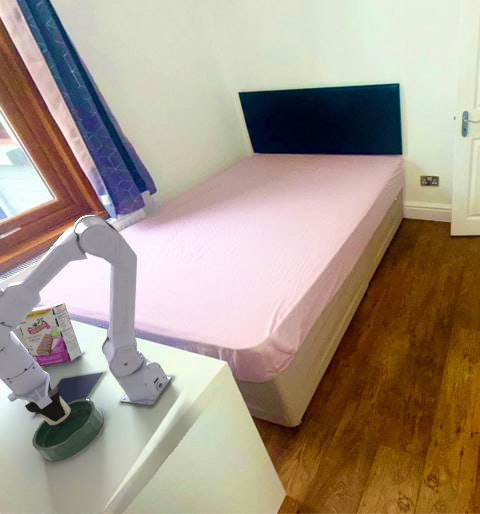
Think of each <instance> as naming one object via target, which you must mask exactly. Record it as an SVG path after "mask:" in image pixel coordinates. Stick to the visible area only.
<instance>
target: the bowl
mask: <svg viewBox="0 0 480 514" xmlns="http://www.w3.org/2000/svg"><path fill="white" fill-rule="evenodd" d="M67 405H68V406H69V407H70V409H71V411H70V414H69V415H68V416H67V417H66V418H65V419H64V420H63V421H62V422H60V423H58V424H55V425H49V424H48V423H47V422H46V421H45V420H44V419H43V421H42V422H41V423H40V424H39V426H38V427H37V429H36V430H35V432H34V434H33V437H32V439H31V441H32V443H31V444H32V447H33V448H34V449H35V450H36V451H37V452H38V453H39V454H40V455H41V456H42V457H43V458H44V459H45V460H47V461H49V462H59V461H64V460H65V459H68V458H70V457H73V456H75V455H76V454H77V453H79V452H80V451H82V450H84V449H85V448H86V447H87V446H88V445H89V444H90V443H91V442H93V440H94V439H95V438H96V437H97V435H99V432H100V431H101V429H102V427H103V424H104V423H103V422H104V415H103V413H102V412H101V410H100V409H99V408H98V406H97V405H96V404H95V402H94V401H92V400H91V399H88V398H86V399H79V400H75V401H72V402H70V403H67Z"/></svg>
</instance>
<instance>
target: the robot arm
mask: <svg viewBox="0 0 480 514" xmlns="http://www.w3.org/2000/svg"><path fill="white" fill-rule="evenodd" d="M86 254H88V255H90V256H92V257H96V258H100V259H103V260H104V261H106V262H107V263H109V264H110V272H109V273H110V276H109V277H110V279H109V280H110V281H109V284H110V285H109V286H110V287H109V317H108V321H109V322H108V328H107V330H106V337H105V339H104V341H103V342H102V345H101V352H102V354H103V355H104V357H105V360H106V363H107V364H108V369H109V371H110V373H111V375H112V376H113V377H114V379H115V381H116V382H117V383H118V384H119V386H120V387H121V389H122V390H123V392H124V395H123V396H122V397H121V399H120V402H121V403H130V404H140V405H153V404H154V403H155V401H156V400H157V399H158V398H159V396H160V395H161V393H162V392H163V390H164V389H165V388H166V386H167V385H168V384H169V382H170V381H171V380H172V377H171V376H167V374H166V373H165V371H164V369H163V367H162V366H161V364H160V363H158V362H157V361H152V360H149V358H146V357H145V356H144V354H143V352H141V351H138V343H137V338H136V334H135V333H136V332H135V322H136V321H135V319H136V295H137V270H138V256H137V253H136V252H135V251H134V250H133V248H132V246H131V245H129V243H128V241H126V239H125V237H123V235H122V234H121V233H120V232H119V230H118V229H116V227H114V225H113V224H112V223H110V222H108V221H107V220H105V219H104V218H102V217H101V216H99V215H95V214H94V215H93V214H92V215H91V214H89V215H84V216H82V217H80V218H79V219H77V221H76V222H75V223H74V226H71V227H69V228H67V229H66V230H65V231H64V232H63V234H62V235H61V236H60V237H59V238H58V239H57V240H56V242H55V243H54V244H53V246H51V247H50V248H49V250H48V251H46V253H45V254H44V255H43V257H42V258H41V259H40V260H39V261H38V263H37V264H36V265H35V266H34V267H33V268H32V270H31V271H30V272H28V275H27V276H26V277H25V278H24V279H23V281H20V282H14V283H10V284H8V285H7V286H6V287H5V288H2V287H0V380H1V381H2V382H3V383H4V385H6V386H7V387H8V388H9V390H11V393H9V394H8V395H7V399H8V400H9V401H10V402H15V401H16V400H22V401H27V402H28V403H27V404H25V405H24V407H25V409H26V410H27V411H28V412H29V413H32V414H35V413H38V414H37V415H40V414H41V415H44V416H45V417H47V418H49V419H50V420H52V421H54V422H57V421H58V420H59V419H61V418H62V417H63V416H65V415H66V414H65V411H64V409H63V407H62V405H61V402H60V392H59V389H58V388H57V387H56V386H55V387H54V388H52V387H51V381H50V380H51V375H50V374H49V373H48V372H46V371H45V370H44V369H43V367H40V365H39V364H38V363H37V362H36V361H35V360H34V358H33V357H32V356H31V355H30V354H29V352H28V351H27V349H26V348H25V347H24V345H23V344H22V343H21V342H20V340H18V338H17V337H15V335H14V334H13V330H14V329H16V328H17V327H18V326H19V324H20V323H21V322H22V321H23V320H24V319H25V318H26V317H27V316H28V315H29V313H30V312H31V311H32V310H33V309H34V308H37V307H38V305H39V304H40V303H41V300H42V298H41V294H40V292H41V291H42V290H43V289H44V288H46V287H47V285H48V284H49V283H50V282H51V281H52V280H53V279H54V278H55V277H56V276H57V275H58V274H59V273H60V272H61V271H63V270H64V268H65V267H67V265H68V264H69V263H71V262H75V261H76V262H77V261H83V260H84V261H85V260H87V259H88V256H87V255H86ZM41 415H40V416H41Z"/></svg>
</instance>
